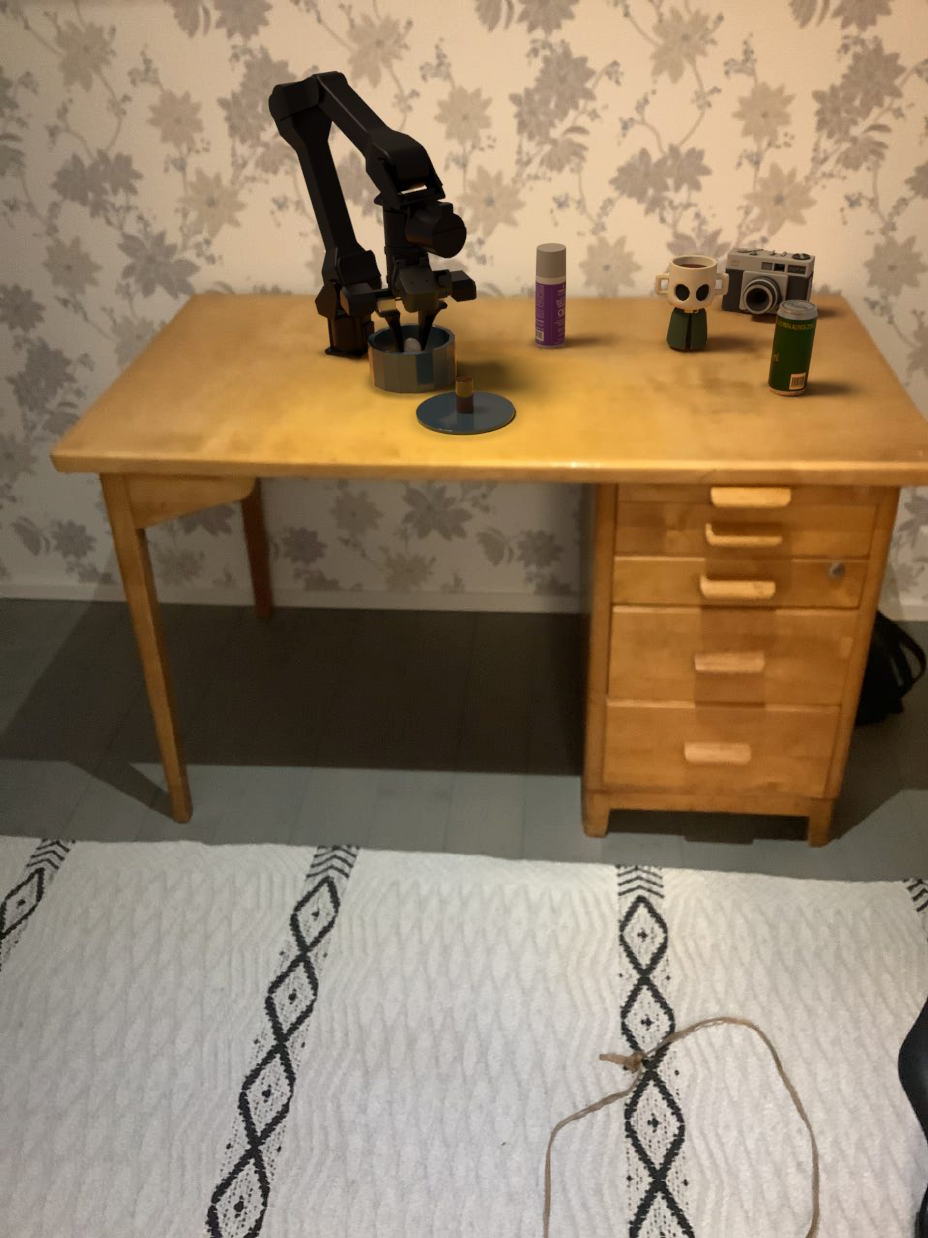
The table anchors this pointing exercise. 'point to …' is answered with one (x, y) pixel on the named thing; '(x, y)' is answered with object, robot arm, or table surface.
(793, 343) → the beer can
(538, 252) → the container
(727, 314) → the table surface
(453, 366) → the canister
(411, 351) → the white piggy bank
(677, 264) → the character mug
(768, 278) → the camera
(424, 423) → the lid
